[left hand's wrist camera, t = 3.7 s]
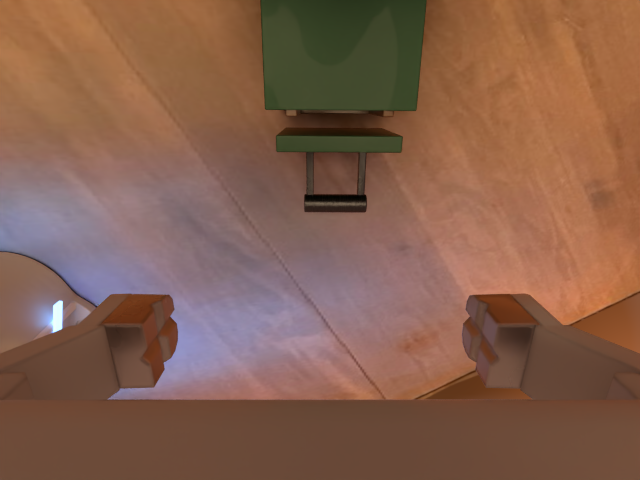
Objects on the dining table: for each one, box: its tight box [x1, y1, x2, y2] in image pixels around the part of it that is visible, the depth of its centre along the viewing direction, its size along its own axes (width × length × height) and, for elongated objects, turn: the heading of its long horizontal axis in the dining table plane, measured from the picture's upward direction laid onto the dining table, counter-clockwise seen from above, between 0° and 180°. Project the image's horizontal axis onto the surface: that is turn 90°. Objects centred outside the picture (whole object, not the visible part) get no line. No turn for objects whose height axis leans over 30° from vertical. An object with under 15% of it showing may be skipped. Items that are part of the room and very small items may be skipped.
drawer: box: [276, 110, 403, 212], centre depth 31 cm, size 18×9×9 cm, turn 0°
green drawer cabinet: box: [261, 0, 427, 111], centre depth 29 cm, size 14×11×11 cm
